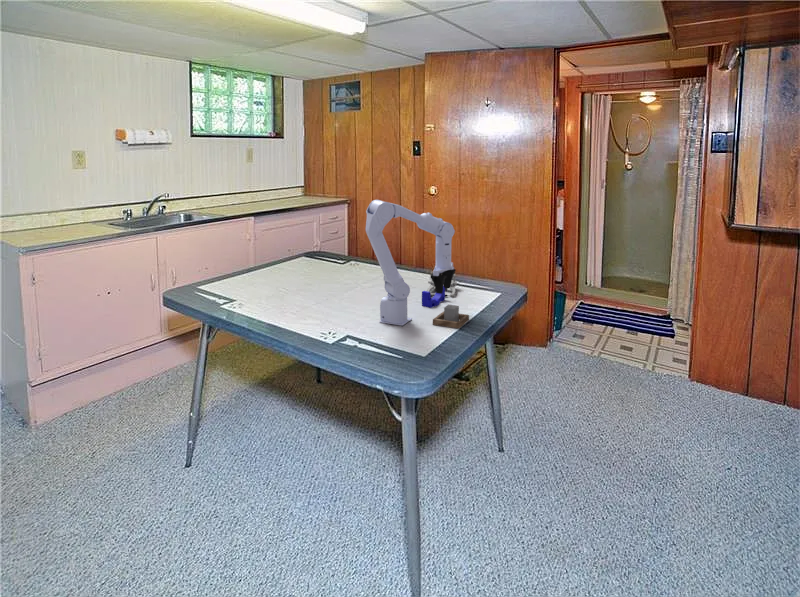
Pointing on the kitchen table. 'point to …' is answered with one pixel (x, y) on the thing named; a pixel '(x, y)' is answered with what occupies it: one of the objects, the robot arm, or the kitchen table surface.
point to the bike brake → (445, 288)
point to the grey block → (451, 313)
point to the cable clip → (434, 301)
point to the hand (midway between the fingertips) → (443, 290)
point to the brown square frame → (440, 322)
